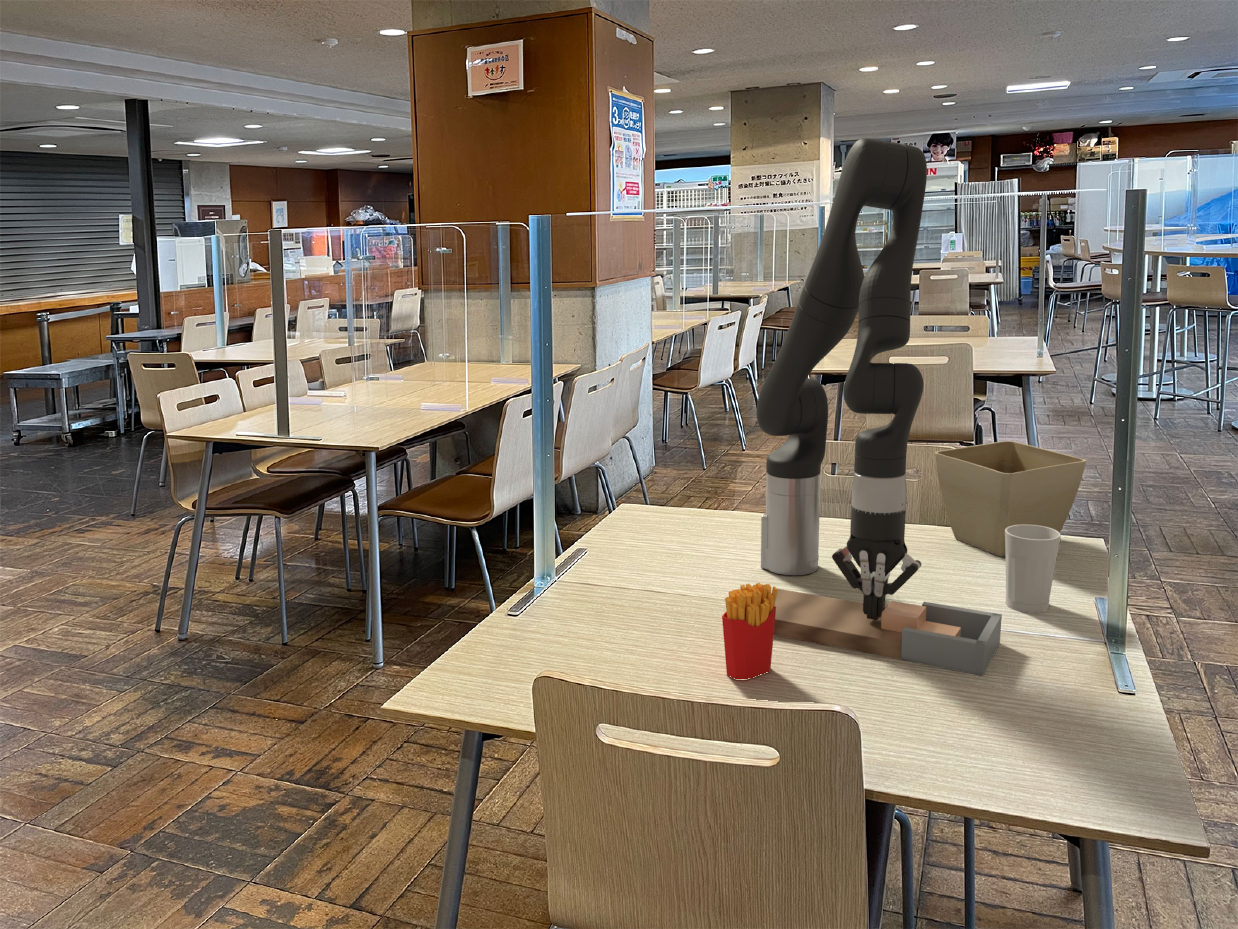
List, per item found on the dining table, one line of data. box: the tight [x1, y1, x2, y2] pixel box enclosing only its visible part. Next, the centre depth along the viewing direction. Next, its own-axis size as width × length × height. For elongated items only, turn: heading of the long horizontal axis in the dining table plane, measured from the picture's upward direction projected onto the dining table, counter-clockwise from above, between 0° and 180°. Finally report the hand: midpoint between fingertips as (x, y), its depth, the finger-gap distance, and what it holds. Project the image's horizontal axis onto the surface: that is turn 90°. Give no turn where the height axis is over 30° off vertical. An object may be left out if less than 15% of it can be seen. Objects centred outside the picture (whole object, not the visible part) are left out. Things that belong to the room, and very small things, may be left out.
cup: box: [1005, 525, 1061, 614], centre depth 158 cm, size 8×8×12 cm
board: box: [774, 588, 902, 661], centre depth 152 cm, size 23×12×2 cm, turn 60°
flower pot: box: [934, 440, 1087, 557], centre depth 187 cm, size 19×19×17 cm
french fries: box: [721, 582, 778, 679], centre depth 137 cm, size 8×4×12 cm, turn 124°
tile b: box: [919, 621, 961, 637], centre depth 144 cm, size 5×5×2 cm
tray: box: [901, 601, 1003, 676], centre depth 143 cm, size 11×12×4 cm
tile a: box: [881, 600, 926, 632], centre depth 146 cm, size 5×5×2 cm
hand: (873, 617), depth 148 cm, fingers closed
